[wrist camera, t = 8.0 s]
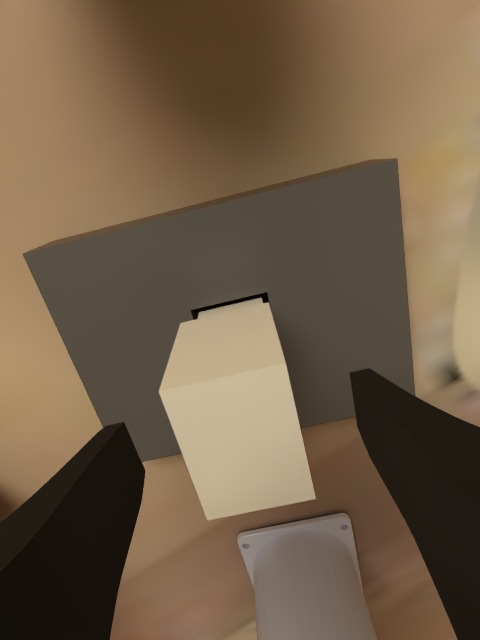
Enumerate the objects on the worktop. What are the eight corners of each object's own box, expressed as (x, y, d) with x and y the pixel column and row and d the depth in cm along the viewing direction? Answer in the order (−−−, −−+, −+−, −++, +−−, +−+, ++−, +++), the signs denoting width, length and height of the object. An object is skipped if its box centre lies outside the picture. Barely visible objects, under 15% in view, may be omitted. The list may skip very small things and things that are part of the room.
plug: (282, 368, 19) (315, 498, 11) (216, 383, 19) (207, 520, 12) (261, 278, 17) (285, 363, 10) (189, 295, 17) (158, 391, 10)
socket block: (392, 374, 22) (415, 404, 19) (134, 430, 23) (121, 466, 21) (371, 159, 18) (397, 158, 15) (53, 241, 19) (22, 253, 16)
